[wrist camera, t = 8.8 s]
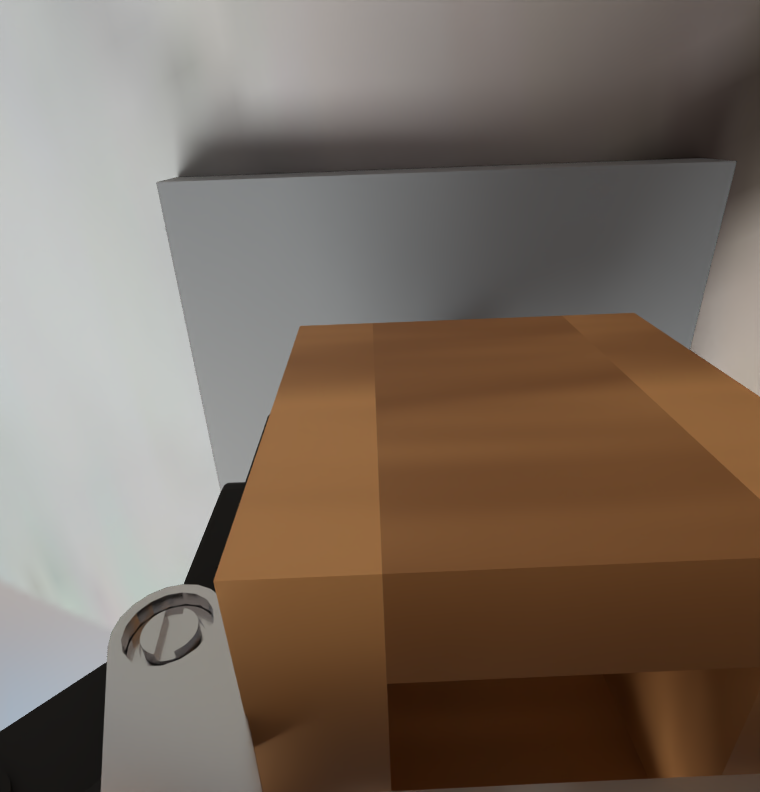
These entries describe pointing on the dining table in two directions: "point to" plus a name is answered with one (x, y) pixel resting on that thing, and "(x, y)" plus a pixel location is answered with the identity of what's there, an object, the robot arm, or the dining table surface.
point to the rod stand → (424, 260)
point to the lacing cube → (498, 559)
